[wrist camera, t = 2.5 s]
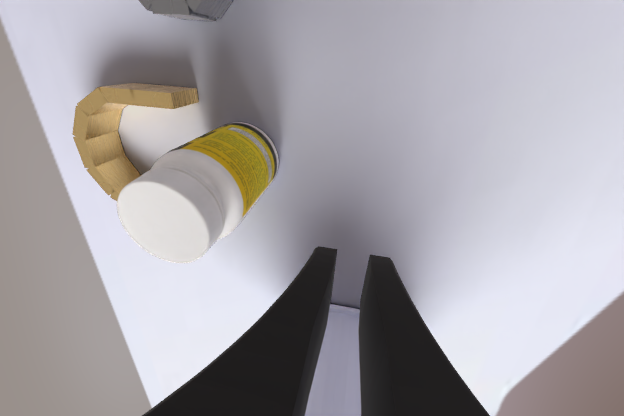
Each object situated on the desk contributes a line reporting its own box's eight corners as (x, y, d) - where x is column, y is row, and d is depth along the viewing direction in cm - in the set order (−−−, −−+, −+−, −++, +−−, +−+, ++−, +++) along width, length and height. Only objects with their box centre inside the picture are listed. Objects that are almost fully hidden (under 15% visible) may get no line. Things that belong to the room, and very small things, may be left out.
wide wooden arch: (196, 88, 16) (170, 93, 14) (213, 205, 20) (195, 222, 18) (91, 79, 17) (51, 82, 15) (127, 192, 21) (100, 208, 19)
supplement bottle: (230, 104, 16) (121, 142, 9) (293, 151, 17) (238, 220, 10) (201, 163, 19) (97, 230, 12) (258, 202, 19) (193, 288, 12)
